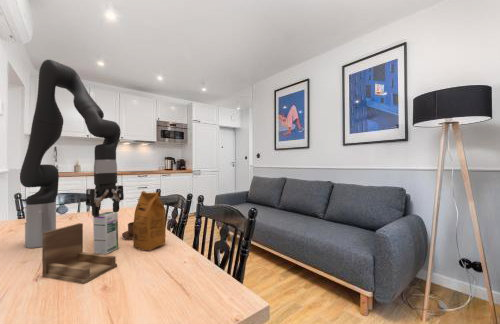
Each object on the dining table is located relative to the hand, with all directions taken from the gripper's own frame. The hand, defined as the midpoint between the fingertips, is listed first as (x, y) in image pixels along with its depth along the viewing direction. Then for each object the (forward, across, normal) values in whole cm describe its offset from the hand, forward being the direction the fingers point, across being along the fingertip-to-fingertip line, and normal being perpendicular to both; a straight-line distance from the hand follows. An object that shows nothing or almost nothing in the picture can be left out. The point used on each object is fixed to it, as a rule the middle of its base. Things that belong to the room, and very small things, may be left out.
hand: (106, 214), depth 87 cm
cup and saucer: (+14, -18, -2) cm, 23 cm away
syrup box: (+14, 0, 0) cm, 14 cm away
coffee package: (+14, -9, +12) cm, 21 cm away
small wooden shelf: (+14, +15, +7) cm, 22 cm away
